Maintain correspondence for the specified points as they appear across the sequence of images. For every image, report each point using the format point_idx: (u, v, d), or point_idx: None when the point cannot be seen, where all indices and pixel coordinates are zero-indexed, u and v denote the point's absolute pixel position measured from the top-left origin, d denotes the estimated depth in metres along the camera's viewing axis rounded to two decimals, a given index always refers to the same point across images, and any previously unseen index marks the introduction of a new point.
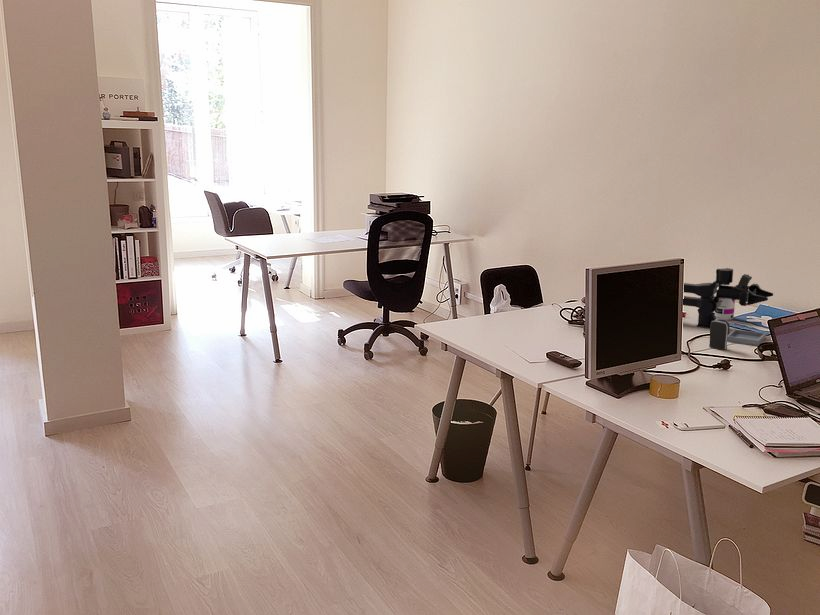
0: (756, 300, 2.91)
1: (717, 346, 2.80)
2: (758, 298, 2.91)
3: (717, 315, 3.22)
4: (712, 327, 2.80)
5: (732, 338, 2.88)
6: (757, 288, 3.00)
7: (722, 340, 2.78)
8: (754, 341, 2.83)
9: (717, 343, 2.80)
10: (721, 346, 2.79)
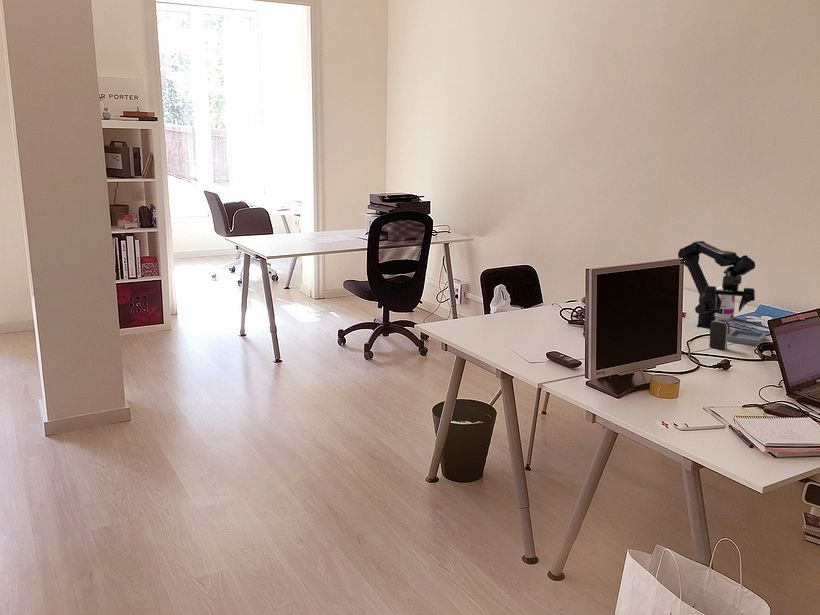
0: None
1: (717, 346, 2.80)
2: (713, 302, 2.90)
3: (717, 315, 3.22)
4: (712, 327, 2.80)
5: (732, 338, 2.88)
6: (742, 295, 2.84)
7: (722, 340, 2.78)
8: (754, 341, 2.83)
9: (717, 343, 2.80)
10: (721, 346, 2.79)
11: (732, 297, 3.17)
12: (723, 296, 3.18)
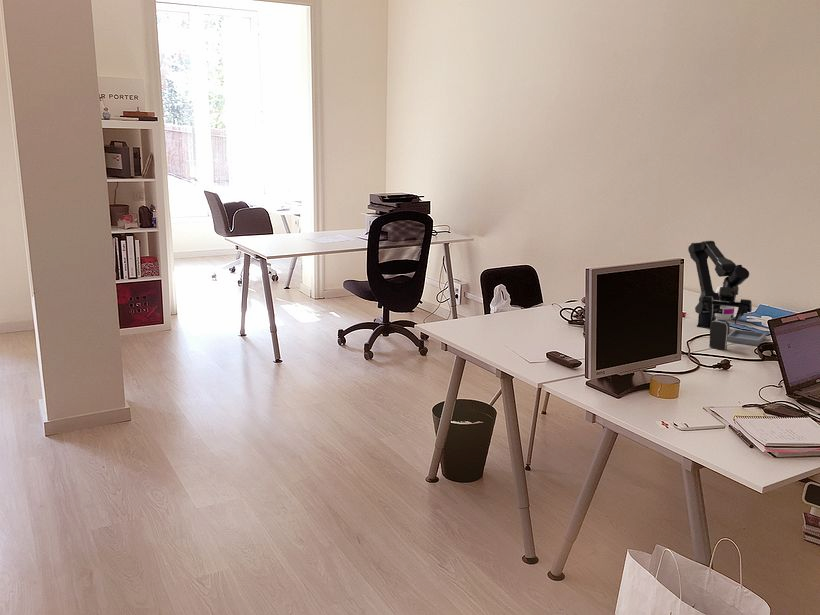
0: None
1: (717, 346, 2.80)
2: (709, 312, 2.87)
3: (717, 315, 3.22)
4: (712, 327, 2.80)
5: (732, 338, 2.88)
6: (738, 306, 2.81)
7: (722, 340, 2.78)
8: (754, 341, 2.83)
9: (717, 343, 2.80)
10: (721, 346, 2.79)
11: None
12: None
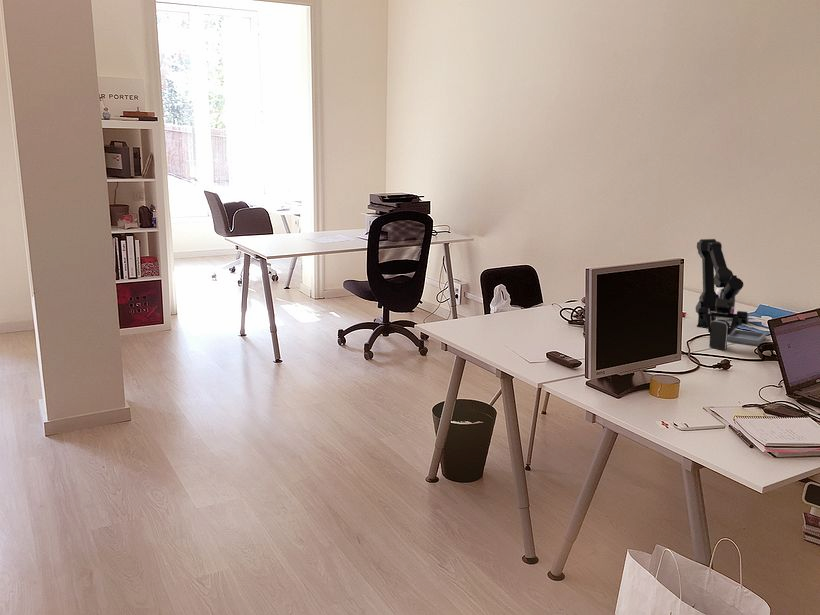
0: None
1: (717, 346, 2.80)
2: (707, 324, 2.83)
3: None
4: (712, 327, 2.80)
5: (732, 338, 2.88)
6: (733, 318, 2.78)
7: (722, 340, 2.78)
8: (754, 341, 2.83)
9: (717, 343, 2.80)
10: (721, 346, 2.79)
11: None
12: None
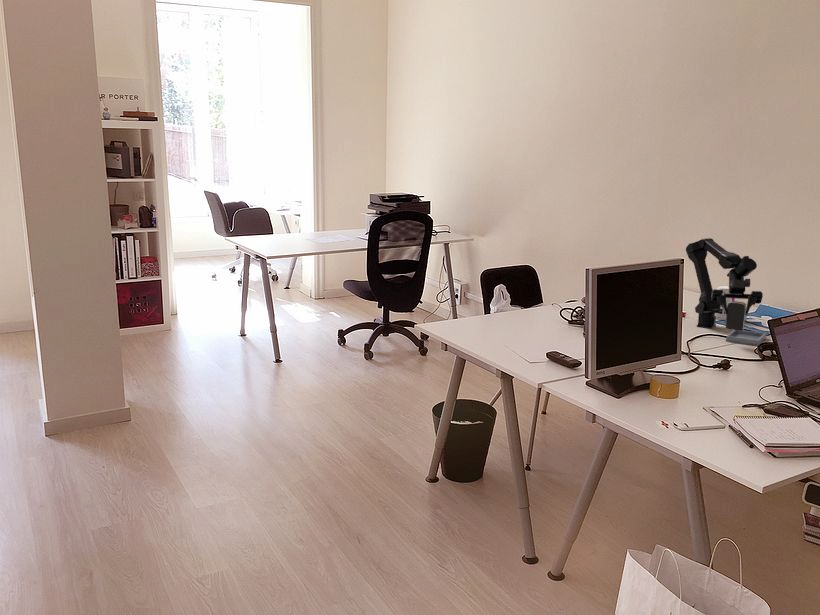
0: (722, 306, 2.85)
1: (735, 327, 2.81)
2: (723, 306, 2.83)
3: (717, 315, 3.22)
4: (729, 308, 2.81)
5: (732, 338, 2.88)
6: (748, 298, 2.80)
7: (740, 321, 2.80)
8: (754, 341, 2.83)
9: (735, 324, 2.81)
10: (739, 327, 2.80)
11: None
12: None
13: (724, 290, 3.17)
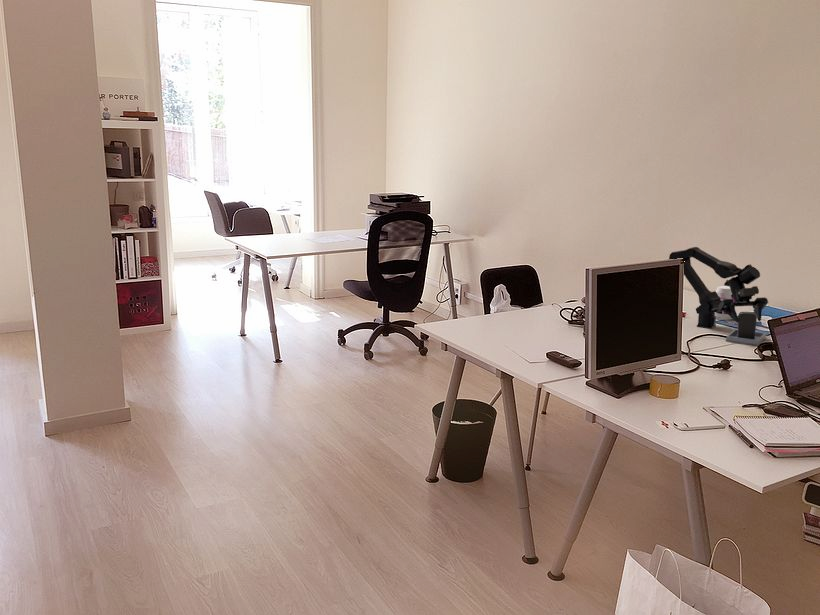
0: (731, 314, 2.90)
1: (747, 336, 2.89)
2: (733, 315, 2.89)
3: (717, 315, 3.22)
4: (741, 319, 2.88)
5: (732, 338, 2.88)
6: (758, 305, 2.89)
7: (752, 330, 2.88)
8: (754, 341, 2.83)
9: (747, 334, 2.88)
10: (751, 336, 2.88)
11: None
12: (723, 296, 3.18)
13: (724, 290, 3.17)
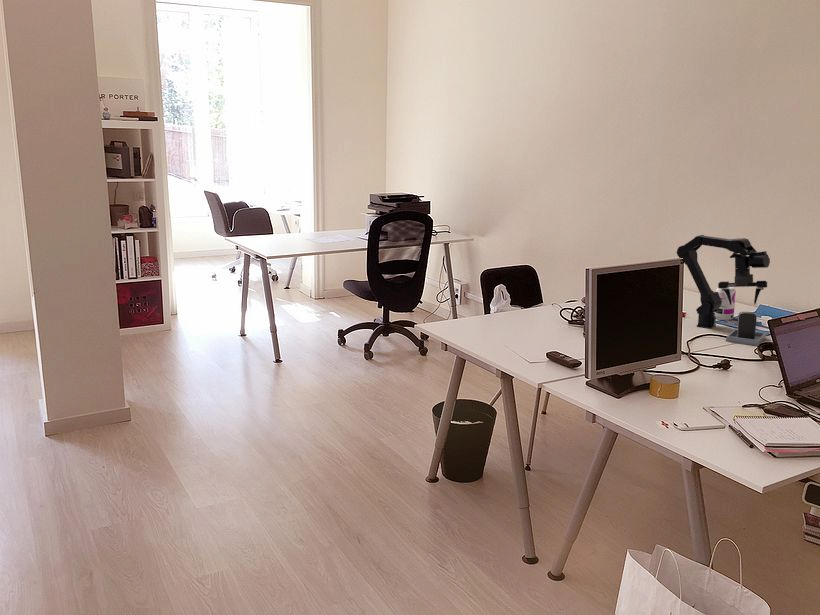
0: None
1: (747, 336, 2.89)
2: (728, 297, 2.98)
3: (717, 315, 3.22)
4: (741, 319, 2.88)
5: (732, 338, 2.88)
6: None
7: (752, 330, 2.88)
8: (754, 341, 2.83)
9: (747, 334, 2.88)
10: (751, 336, 2.88)
11: (732, 297, 3.17)
12: (723, 296, 3.18)
13: None
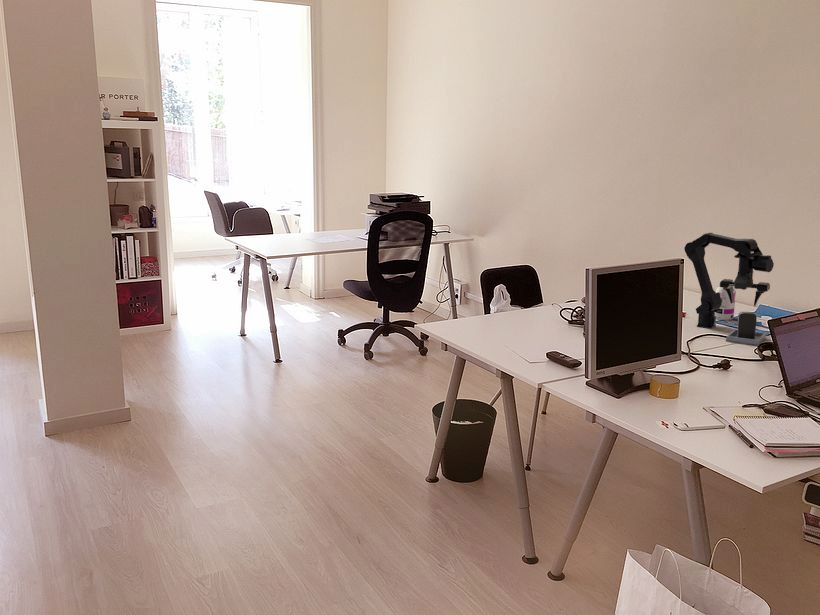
0: None
1: (747, 336, 2.89)
2: None
3: (717, 315, 3.22)
4: (741, 319, 2.88)
5: (732, 338, 2.88)
6: (756, 292, 2.90)
7: (752, 330, 2.88)
8: (754, 341, 2.83)
9: (747, 334, 2.88)
10: (751, 336, 2.88)
11: None
12: (723, 296, 3.18)
13: (724, 290, 3.17)
